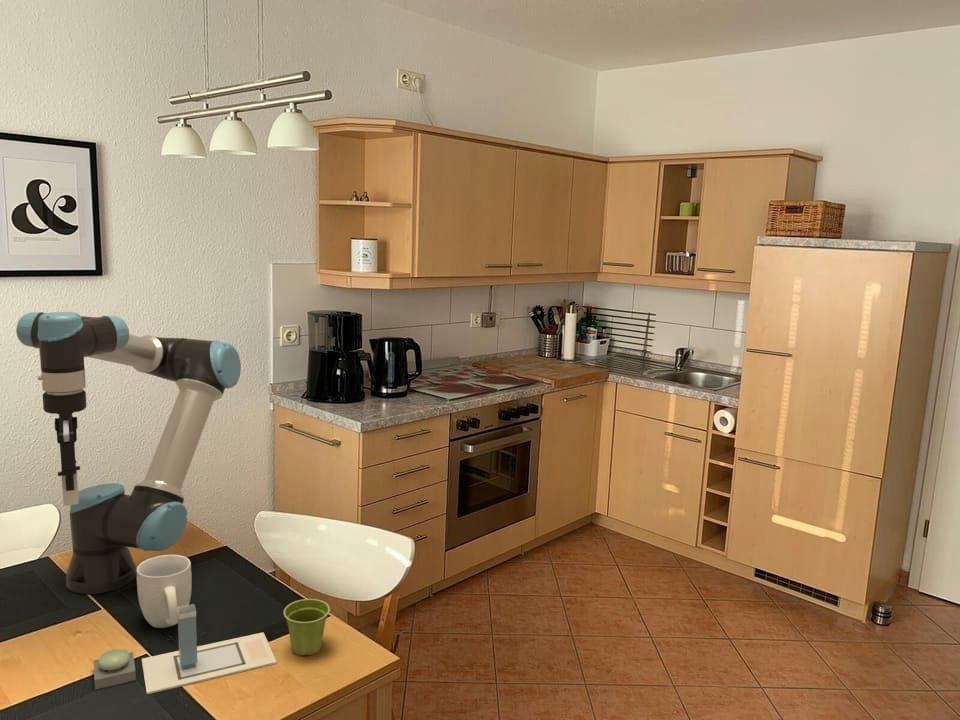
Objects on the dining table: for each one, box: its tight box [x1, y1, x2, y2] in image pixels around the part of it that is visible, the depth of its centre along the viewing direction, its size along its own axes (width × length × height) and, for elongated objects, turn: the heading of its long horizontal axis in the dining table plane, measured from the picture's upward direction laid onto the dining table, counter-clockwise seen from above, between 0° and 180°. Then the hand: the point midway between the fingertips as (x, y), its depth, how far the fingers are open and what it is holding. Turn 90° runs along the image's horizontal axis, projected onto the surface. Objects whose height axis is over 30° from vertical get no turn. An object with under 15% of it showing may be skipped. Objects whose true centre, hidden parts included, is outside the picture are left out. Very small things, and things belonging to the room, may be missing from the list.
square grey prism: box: [177, 603, 198, 669], centre depth 147 cm, size 3×3×12 cm
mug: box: [136, 554, 193, 629], centre depth 162 cm, size 15×11×13 cm
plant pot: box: [283, 598, 331, 656], centre depth 155 cm, size 9×9×9 cm
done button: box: [98, 648, 130, 671], centre depth 144 cm, size 5×5×4 cm
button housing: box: [93, 651, 137, 691], centre depth 144 cm, size 7×7×2 cm
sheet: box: [141, 631, 278, 695], centre depth 150 cm, size 12×24×1 cm, turn 118°
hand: (71, 503), depth 152 cm, fingers closed
